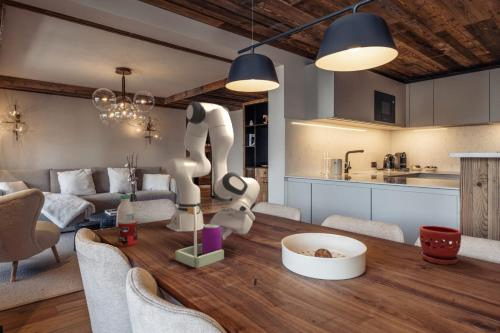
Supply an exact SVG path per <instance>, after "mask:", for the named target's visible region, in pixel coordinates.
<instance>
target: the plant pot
mask: <svg viewBox="0 0 500 333" xmlns="http://www.w3.org/2000/svg"><path fill="white" fill-rule="evenodd" d="M450 242H451V243H450ZM419 243H420V247H421V249H422V252H421V254H420V255H421V257H422V258H423V259H424V260H426V261H428V262H430V263H433V264H437V263H438V264H437V265H453V264H455V263H457V262H458V261H459V257H457V255H458V253H459V252H460V248H461V244H462V231H461V230H459V229H455V228H453V227H449V226H448V227H447V226H439V225H422V226H420V227H419Z"/></svg>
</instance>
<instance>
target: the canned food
mask: <svg viewBox="0 0 500 333" xmlns="http://www.w3.org/2000/svg"><path fill="white" fill-rule="evenodd" d="M117 237H118V238H117V242H118V243H117V244H118V246H119V247H120V248H128V247H129V248H130V247H134V246H136V245H137V244H138V221H137V219H136V218H134V219H124V220H120V221H118V220H117Z"/></svg>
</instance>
